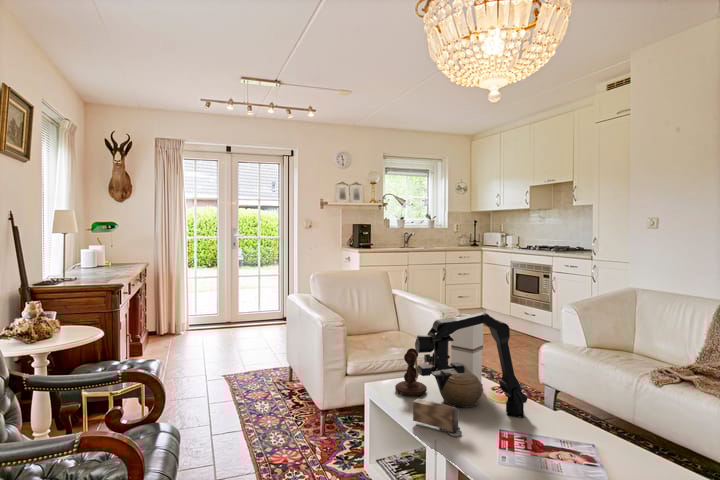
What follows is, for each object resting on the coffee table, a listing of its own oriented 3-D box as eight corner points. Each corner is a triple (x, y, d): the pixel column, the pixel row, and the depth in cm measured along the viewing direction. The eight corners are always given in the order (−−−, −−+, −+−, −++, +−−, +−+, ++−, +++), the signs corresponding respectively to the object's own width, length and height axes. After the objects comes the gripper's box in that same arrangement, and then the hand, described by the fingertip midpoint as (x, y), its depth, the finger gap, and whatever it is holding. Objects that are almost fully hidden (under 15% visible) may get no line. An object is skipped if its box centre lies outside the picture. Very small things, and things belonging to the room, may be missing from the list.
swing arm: (459, 428, 164) (460, 408, 164) (456, 432, 161) (456, 412, 161) (417, 417, 174) (417, 398, 174) (413, 420, 171) (413, 401, 171)
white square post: (482, 388, 212) (483, 316, 211) (472, 394, 204) (473, 319, 203) (461, 382, 219) (462, 313, 219) (450, 388, 211) (451, 316, 211)
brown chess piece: (424, 399, 197) (424, 355, 197) (392, 395, 201) (392, 352, 201) (428, 388, 211) (428, 347, 211) (398, 385, 216) (398, 345, 215)
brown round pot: (478, 396, 202) (479, 359, 201) (485, 412, 184) (486, 372, 184) (434, 393, 204) (435, 357, 203) (437, 409, 186) (438, 369, 186)
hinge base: (462, 432, 165) (462, 430, 165) (460, 438, 160) (460, 436, 160) (449, 430, 167) (449, 428, 167) (447, 435, 162) (447, 433, 162)
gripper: (453, 345, 186) (453, 381, 186) (412, 347, 181) (411, 385, 181) (465, 352, 175) (465, 391, 175) (422, 355, 170) (422, 394, 171)
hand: (440, 390), depth 176 cm, fingers closed
